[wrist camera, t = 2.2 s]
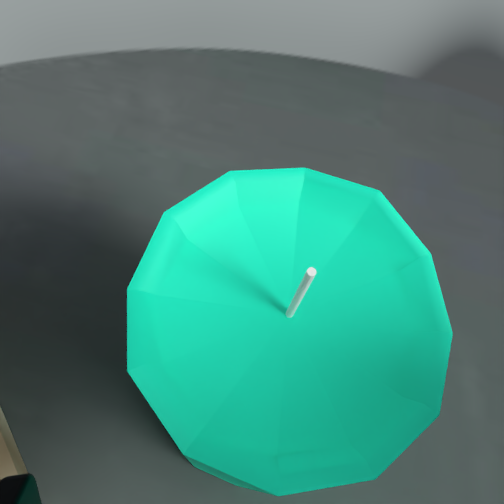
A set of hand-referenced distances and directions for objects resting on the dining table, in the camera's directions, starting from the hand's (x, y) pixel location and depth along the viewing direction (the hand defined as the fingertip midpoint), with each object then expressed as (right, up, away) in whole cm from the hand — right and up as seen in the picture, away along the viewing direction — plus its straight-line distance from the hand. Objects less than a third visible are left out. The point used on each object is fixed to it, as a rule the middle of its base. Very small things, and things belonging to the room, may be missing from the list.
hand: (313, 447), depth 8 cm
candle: (-1, -2, +10) cm, 10 cm away
